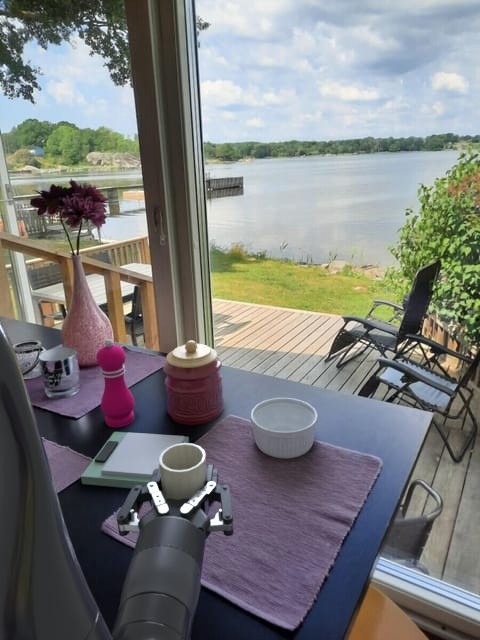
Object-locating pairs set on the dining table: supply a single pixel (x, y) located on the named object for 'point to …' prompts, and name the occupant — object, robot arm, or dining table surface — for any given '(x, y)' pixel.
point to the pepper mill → (115, 386)
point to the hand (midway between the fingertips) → (186, 470)
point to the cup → (182, 471)
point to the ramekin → (284, 427)
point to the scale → (128, 459)
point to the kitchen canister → (193, 384)
